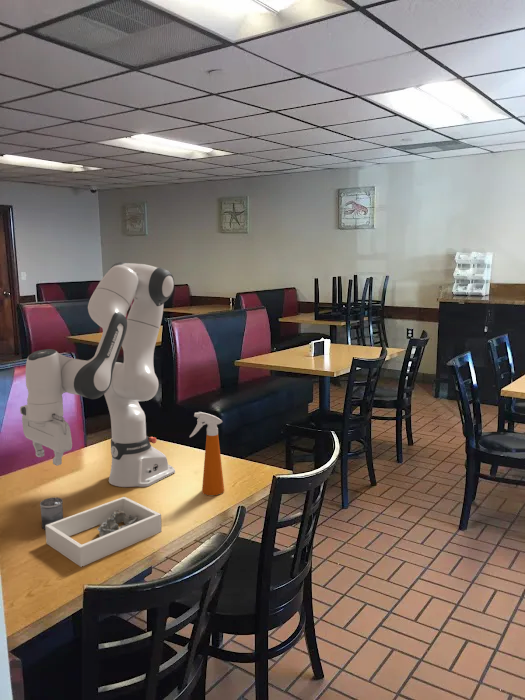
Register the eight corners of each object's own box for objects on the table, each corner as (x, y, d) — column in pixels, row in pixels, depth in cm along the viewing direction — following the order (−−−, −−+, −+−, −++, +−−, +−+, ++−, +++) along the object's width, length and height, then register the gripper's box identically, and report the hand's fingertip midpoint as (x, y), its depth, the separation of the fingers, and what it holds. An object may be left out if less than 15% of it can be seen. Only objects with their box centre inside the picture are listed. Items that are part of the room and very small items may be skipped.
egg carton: (118, 521, 158) (118, 507, 158) (141, 526, 155) (140, 512, 155) (94, 538, 149) (93, 523, 148) (117, 543, 146) (116, 529, 145)
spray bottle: (188, 490, 179) (186, 410, 175) (220, 485, 183) (220, 407, 178) (193, 499, 172) (191, 416, 168) (227, 494, 176) (226, 412, 172)
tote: (124, 512, 163) (124, 496, 162) (161, 531, 152) (161, 514, 151) (46, 543, 145) (45, 525, 145) (81, 567, 134) (80, 547, 133)
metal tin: (57, 519, 159) (56, 495, 158) (68, 525, 155) (66, 501, 154) (37, 526, 155) (36, 502, 154) (48, 532, 151) (46, 508, 150)
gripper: (76, 415, 145) (79, 466, 148) (38, 402, 159) (41, 449, 161) (54, 420, 141) (57, 473, 143) (16, 406, 154) (20, 454, 156)
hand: (48, 460), depth 152 cm, fingers open, 8 cm apart
